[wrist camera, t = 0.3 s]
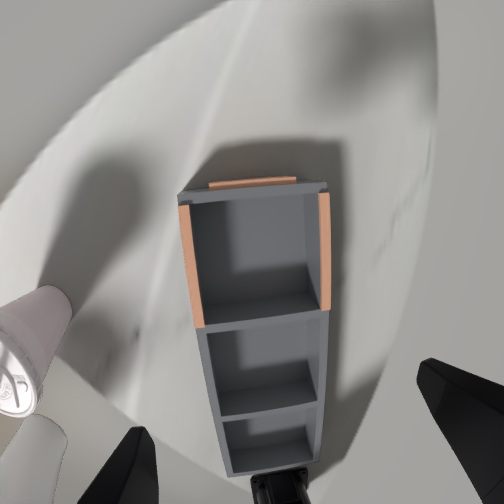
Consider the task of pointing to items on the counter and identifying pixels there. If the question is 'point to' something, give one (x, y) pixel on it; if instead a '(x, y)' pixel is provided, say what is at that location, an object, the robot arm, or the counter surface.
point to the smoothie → (29, 346)
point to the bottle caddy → (261, 314)
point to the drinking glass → (32, 462)
